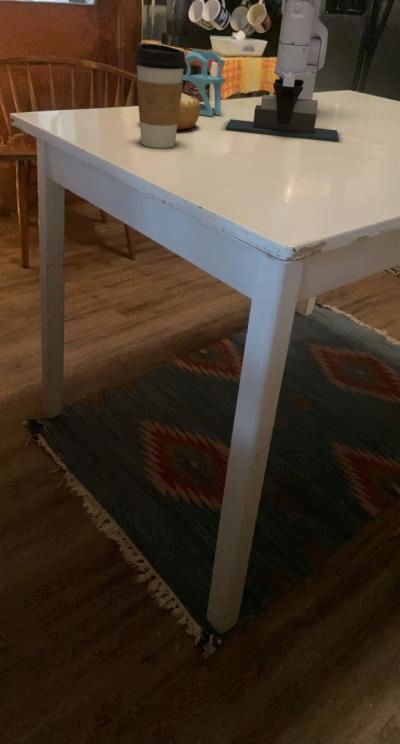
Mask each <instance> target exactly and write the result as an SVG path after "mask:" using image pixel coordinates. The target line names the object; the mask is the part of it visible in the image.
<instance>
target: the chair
mask: <svg viewBox="0 0 400 744" xmlns="http://www.w3.org/2000/svg"><path fill="white" fill-rule="evenodd" d="M184 57H185V62H186V64H185V65H186V73H185V74H183V77H182V81H185V82H186V81H187V82H189V83H191V84H193V85H194V86H195V87H196V88H197V90H198V91H199V94H200V96H201V98H202V100H203V103H200V114H199V116H200V115H201V116H206V117H214V115H216V116H221V114H222V113H221V112H222V111H221V101H222V100H221V97H222V95H221V94H222V86H223V84H224V83H226V77H223V75H222V72H223V71H222V70H223V68H224V65H225V62H226V60H225V59H222V58H221V57H220V56H219V55H218V54H216V53H214V52H213V51H205V50H202V49H199V48H198V49H194V50H192V51H190V52H188V53H187V54H186V55H185V56H184ZM210 60H214V61H216V62H218V64H219V67H218V69H217V76H213V75H210V74H208V72H209V71H208V70H209V65H210ZM194 61H198V62H200V64H201V69H200V73H197V74H196V73H195V74H191V73H192V68H191V64H190V63H191V62H194ZM211 84H212V86H213V89H214V107H212V105H211V103H210V100H209V97H208V95H207V91H206V86H207V85H211Z"/></svg>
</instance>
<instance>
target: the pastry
mask: <svg viewBox="0 0 400 744" xmlns="http://www.w3.org/2000/svg"><path fill="white" fill-rule="evenodd" d="M200 104H201V102H200V100H199V98H197V97H196V96H192V97H191V95H189V94H186V93H183V92H182V95H181V102H180V109H179V117H178V123H177V130H184V129H190V128H193V127H194V126H195V125H196V124H197V122H198V120H199V117H200V109H201V108H200Z"/></svg>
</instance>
